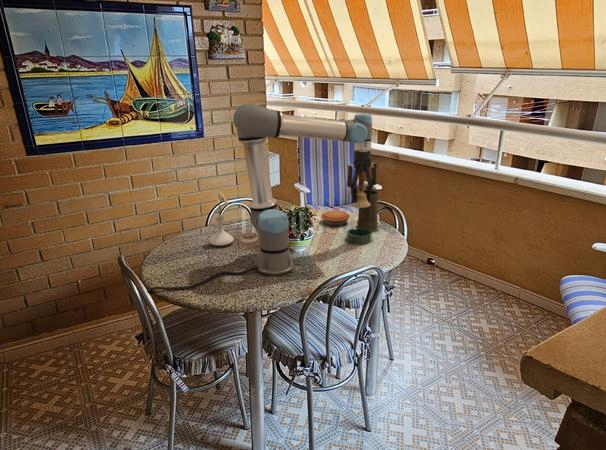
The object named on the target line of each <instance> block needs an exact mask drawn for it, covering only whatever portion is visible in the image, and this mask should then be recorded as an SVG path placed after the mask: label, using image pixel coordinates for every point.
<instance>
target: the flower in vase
mask: <svg viewBox="0 0 606 450" xmlns="http://www.w3.org/2000/svg"><path fill="white" fill-rule="evenodd" d="M218 195H219V196H220V201H219V203H218V210H217V212H216V215H213V218H214V219H215V221H216V224H217V231H216V232H215V233H214V234H213V235H212V236H211V237H210V238H209V244H211V245H212V246H216V247H224V246H227V245H230V244H232V243H233V242H234V240H235V239H234V237H233V236H232V235H231V234H229V233H227V232H226V231H225V230H224V226H223V224H224V223H223V222H224V218H225V217H226V215H225V214H220V213H222V212H223V208H222V206H221V202H222V201H223V203H224V204H225V205H226V206H230V204H229V201H228V200H227V197H225V195H224V193H222V191H221V190H219V191H218Z"/></svg>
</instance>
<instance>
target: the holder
mask: <svg viewBox="0 0 606 450" xmlns="http://www.w3.org/2000/svg"><path fill="white" fill-rule="evenodd" d="M372 233H373V232H371V231H370V230H368V229H364V228H357V227H353V228H350V229H347V231H346V241H347V242H348V243H349V244H351V245H352V244H353V245H367V244H369V243H371V242H372Z"/></svg>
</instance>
